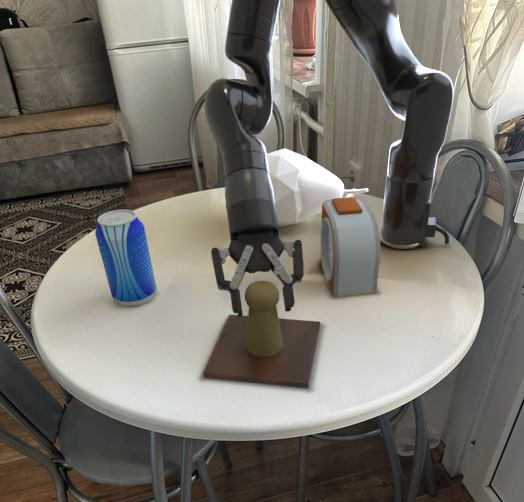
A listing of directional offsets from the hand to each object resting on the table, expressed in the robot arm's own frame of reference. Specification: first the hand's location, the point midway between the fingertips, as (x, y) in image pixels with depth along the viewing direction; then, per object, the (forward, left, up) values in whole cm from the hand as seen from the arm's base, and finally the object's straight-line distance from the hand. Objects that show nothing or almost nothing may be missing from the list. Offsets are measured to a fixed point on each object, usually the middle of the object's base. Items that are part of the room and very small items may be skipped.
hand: (264, 312), depth 75 cm
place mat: (+1, -2, -8) cm, 8 cm away
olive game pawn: (+1, -2, -7) cm, 8 cm away
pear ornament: (+1, -53, -8) cm, 53 cm away
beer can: (+29, -15, -8) cm, 33 cm away
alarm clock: (-10, -28, -8) cm, 31 cm away
